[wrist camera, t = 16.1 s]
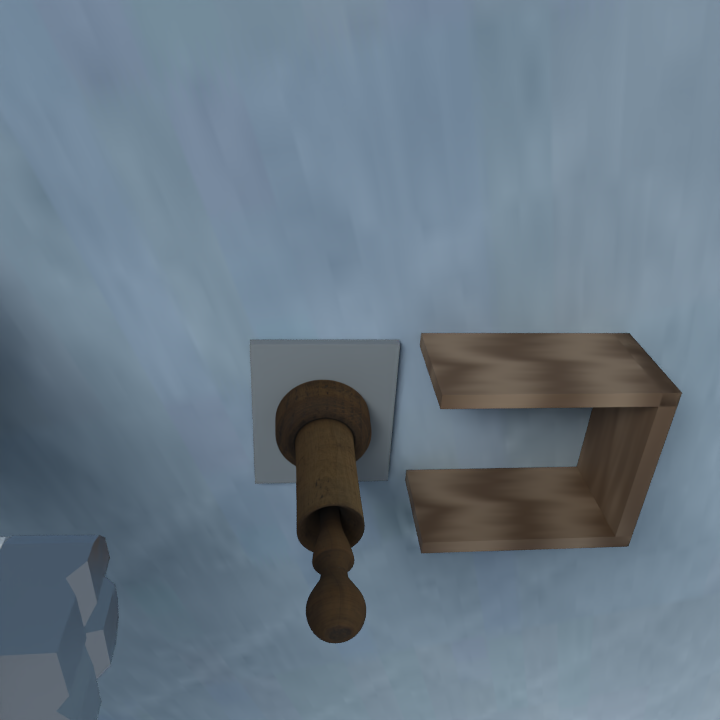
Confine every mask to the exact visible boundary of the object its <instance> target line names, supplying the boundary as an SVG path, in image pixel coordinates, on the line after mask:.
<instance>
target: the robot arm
mask: <svg viewBox="0 0 720 720" xmlns="http://www.w3.org/2000/svg"><path fill="white" fill-rule="evenodd" d="M109 560H110V556H109V552H108V548H107V543H106V539H105V537H102V536H100V535H20V536H7V537H0V720H97V718H98V714H99V710H100V706H101V702H102V701H101V697H100V692H99V688H98V683H97V679H98V678H99V677H100V676H101V675H102V674H103V673H104V672H105V671H106V670H107V669H108V668H109V667H110V666H111V662H112V657H113V653H114V649H115V645H116V637H117V628H118V618H119V615H118V597H117V592H116V586H115V584H114V583H113V582H112V581H110V580H109V579H108V578H107V577H105V574H106V570H107V567H108V563H109Z"/></svg>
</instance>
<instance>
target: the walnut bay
mask: <svg viewBox="0 0 720 720" xmlns="http://www.w3.org/2000/svg"><path fill="white" fill-rule="evenodd" d="M420 348H421V351H422V354H423V357H424V360H425V363H426V366H427V369H428V372H429V375H430V378H431V381H432V384H433V388H434V391H435V394H436V397H437V400H438V403H439V406H440V409H488V408H580V407H593V409H592V412H591V416H590V420H589V423H588V427H587V431H586V434H585V438H584V442H583V445H582V449H581V453H580V456H579V460H578V464H577V467H540V468H490V469H440V470H406V478H405V481H406V486H407V490H408V495H409V499H410V504H411V508H412V513H413V518H414V522H415V527H416V531H417V536H418V541H419V545H420V550H421V553H443V552H473V551H504V550H535V549H566V548H596V547H627V546H629V543H630V540H631V537H632V534H633V531H634V529H635V526H636V523H637V520H638V517H639V514H640V511H641V509H642V506H643V503H644V500H645V497H646V494H647V491H648V489H649V486H650V483H651V480H652V477H653V474H654V471H655V469H656V466H657V463H658V460H659V457H660V454H661V451H662V449H663V446H664V443H665V440H666V437H667V434H668V431H669V429H670V426H671V423H672V420H673V417H674V414H675V411H676V409H677V406H678V403H679V400H680V397H681V394H682V392H681V391H680V390H679V389H678V388H677V387H676V386H675V384H674V383H673V382H672V381H671V380H670V379H669V378H668V377H667V375H666V374H665V373H664V372H663V371H662V370H661V369H660V367H659V366H658V365H657V364H656V363H655V362H654V361H653V360H652V358H651V357H650V356H649V355H648V354H647V353H646V352H645V350H644V349H643V348H642V347H641V346H640V345H639V344H638V343H637V341H636V340H635V339H634V338H633V337H632V336H631V335H630V333H421V340H420Z"/></svg>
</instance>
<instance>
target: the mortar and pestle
mask: <svg viewBox="0 0 720 720" xmlns="http://www.w3.org/2000/svg"><path fill="white" fill-rule="evenodd" d="M371 434H372V431H371V423H370V415H369V410H368V406H367V404H366V402H365V400H364V399H363V397H362V396H361V395H360V394H359V393H358V392H357V391H356V390H354V389H353V388H351V387H350V386H348V385H346V384H344V383H341V382H337V381H333V380H313V381H309V382H305V383H303V384H300V385H298V386H296V387H295V388H293V389H292V390H290V391H289V392H288V393H287V394H286V395H285V396H284V397H283V399H282V400H281V402H280V403H279V405H278V408H277V411H276V417H275V437H276V443H277V446H278V448H279V450H280V452H281V454H282V455H283V456H284V457H285V459H286V460H288V461H289V462H290V463H291V464H293V465H294V466H296V495H297V537H298V539H299V541H300V543H301V544H302V545H303V546H304V547H305V548H306V549H308V550H309V551H312V552H314V553H313V559H312V564H313V567H314V569H315V570H316V571H317V572H318V573H319V574H321V577H320V580H319V582H318V583H317V584H316V586H315V587H314V589H313V590H312V592H311V594H310V596H309V598H308V601H307V604H306V617H307V621H308V624H309V626H310V628H311V630H312V631H313V633H314V634H315V635H316V636H317V637H318V638H320V639H321V640H323V641H325V642H329V643H342V642H346V641H348V640H350V639H352V638H353V637H354V636H356V635H357V634H358V632H359V631H360V630H361V628H362V626H363V624H364V621H365V618H366V604H365V600H364V598H363V595H362V594H361V592H360V591H359V589H358V588H357V587H356V586H355V585H354V583H353V582H352V581H351V580H350V579H349V578H348V571H350V569H351V568H352V567H353V565H354V556H353V552H352V549H351V548H352V547H353V546H354V545H356V544H357V543H358V542H359V540H360V539H361V537H362V535H363V533H364V527H365V525H364V517H363V511H362V504H361V497H360V490H359V483H358V475H357V467H356V461H357V460H359V459H360V458H361V457H362V456H363V454H364V453H365V452H366V450H367V448H368V446H369V444H370V441H371Z"/></svg>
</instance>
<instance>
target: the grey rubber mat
mask: <svg viewBox="0 0 720 720" xmlns="http://www.w3.org/2000/svg"><path fill="white" fill-rule="evenodd" d="M399 350H400V342H399V340H250V363H251V389H252V415H253V441H254V467H255V484H261V483H296V466H294V465H293V464H291V463H290V462H289V461H288V460H286V459H285V457H284V456H283V455H282V454H281V452H280V450H279V448H278V446H277V443H276V437H275V417H276V411H277V408H278V405H279V403H280V402H281V400H282V399H283V397H284V396H285V395H286V394H287V393H288V392H289V391H290V390H292V389H293V388H295V387H296V386H298V385H300V384H303V383H305V382H309V381H313V380H333V381H337V382H341V383H344V384H346V385H348V386H350V387H351V388H353V389H354V390H356V391H357V392H358V393H359V394H360V395H361V396H362V397H363V399H364V400H365V402H366V404H367V406H368V410H369V415H370V423H371V431H372V434H371V441H370V444H369V446H368V448H367V450H366V452H365V453H364V454H363V456H362V457H361V458H360V459H359V460H357V461H356V467H357V475H358V481H388V471H389V460H390V449H391V438H392V427H393V416H394V405H395V394H396V383H397V372H398V361H399Z"/></svg>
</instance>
